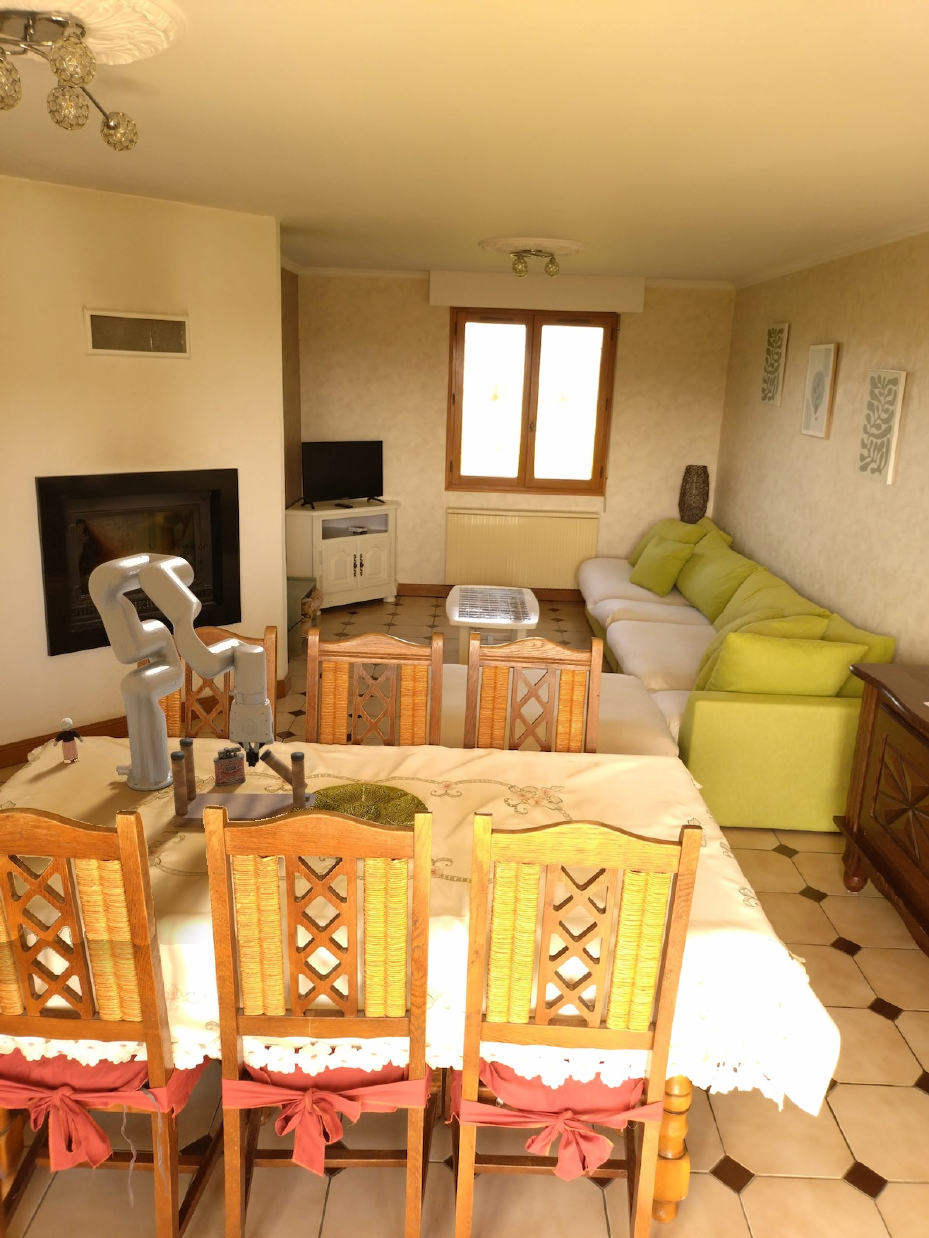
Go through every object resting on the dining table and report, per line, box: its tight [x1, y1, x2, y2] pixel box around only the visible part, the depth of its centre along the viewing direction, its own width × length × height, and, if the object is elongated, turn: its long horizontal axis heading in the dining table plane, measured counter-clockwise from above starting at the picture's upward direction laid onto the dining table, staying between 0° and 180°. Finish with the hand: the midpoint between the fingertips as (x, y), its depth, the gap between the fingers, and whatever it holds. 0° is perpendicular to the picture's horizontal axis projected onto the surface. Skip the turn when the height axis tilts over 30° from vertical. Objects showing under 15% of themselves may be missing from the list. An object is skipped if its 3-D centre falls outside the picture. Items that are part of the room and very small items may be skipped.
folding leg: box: [259, 748, 309, 790], centre depth 235 cm, size 14×3×3 cm
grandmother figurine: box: [52, 717, 84, 761], centre depth 260 cm, size 8×4×13 cm, turn 133°
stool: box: [169, 737, 318, 828], centre depth 231 cm, size 33×13×18 cm, turn 91°
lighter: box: [213, 745, 246, 788], centre depth 249 cm, size 8×3×10 cm, turn 117°
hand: (252, 764), depth 234 cm, fingers closed
